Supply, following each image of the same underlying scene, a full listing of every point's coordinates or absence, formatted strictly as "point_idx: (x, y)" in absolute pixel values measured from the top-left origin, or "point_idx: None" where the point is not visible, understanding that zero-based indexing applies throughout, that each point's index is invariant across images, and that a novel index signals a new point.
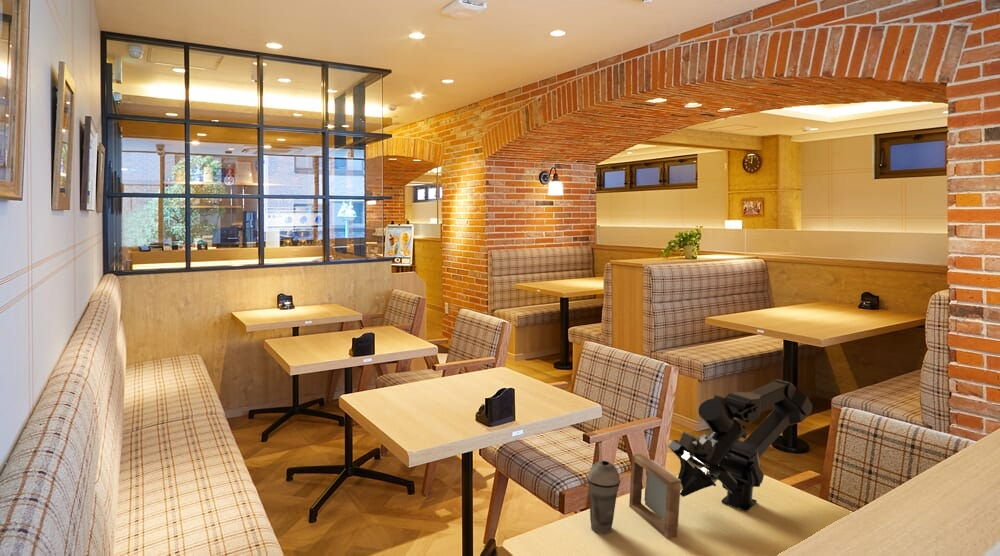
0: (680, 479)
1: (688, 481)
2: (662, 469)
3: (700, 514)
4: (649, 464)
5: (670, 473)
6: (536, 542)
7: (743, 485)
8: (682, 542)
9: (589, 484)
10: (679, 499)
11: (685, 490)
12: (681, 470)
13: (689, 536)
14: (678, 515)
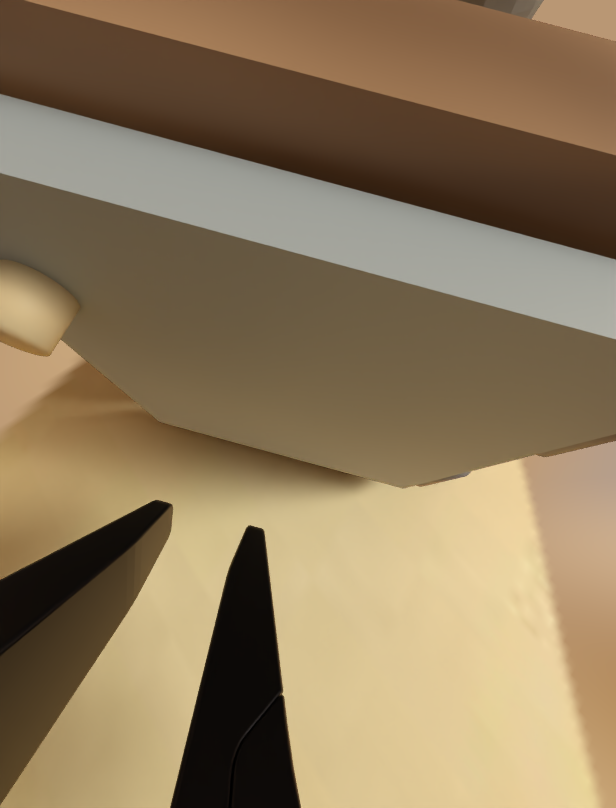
0: (215, 636)
1: (13, 632)
2: (232, 31)
3: (184, 730)
4: (528, 52)
5: (119, 189)
6: None
7: None
8: (108, 381)
9: None
10: (66, 341)
11: (98, 534)
12: None
13: (108, 447)
14: (133, 399)
